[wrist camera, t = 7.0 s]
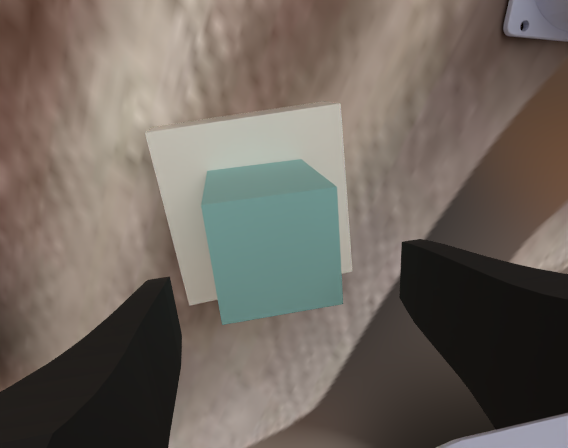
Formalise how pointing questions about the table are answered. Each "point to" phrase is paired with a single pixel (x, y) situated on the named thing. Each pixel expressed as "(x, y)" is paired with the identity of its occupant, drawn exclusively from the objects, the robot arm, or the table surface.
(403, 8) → the table surface
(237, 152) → the ceramic slab
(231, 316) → the teal block
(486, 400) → the robot arm
